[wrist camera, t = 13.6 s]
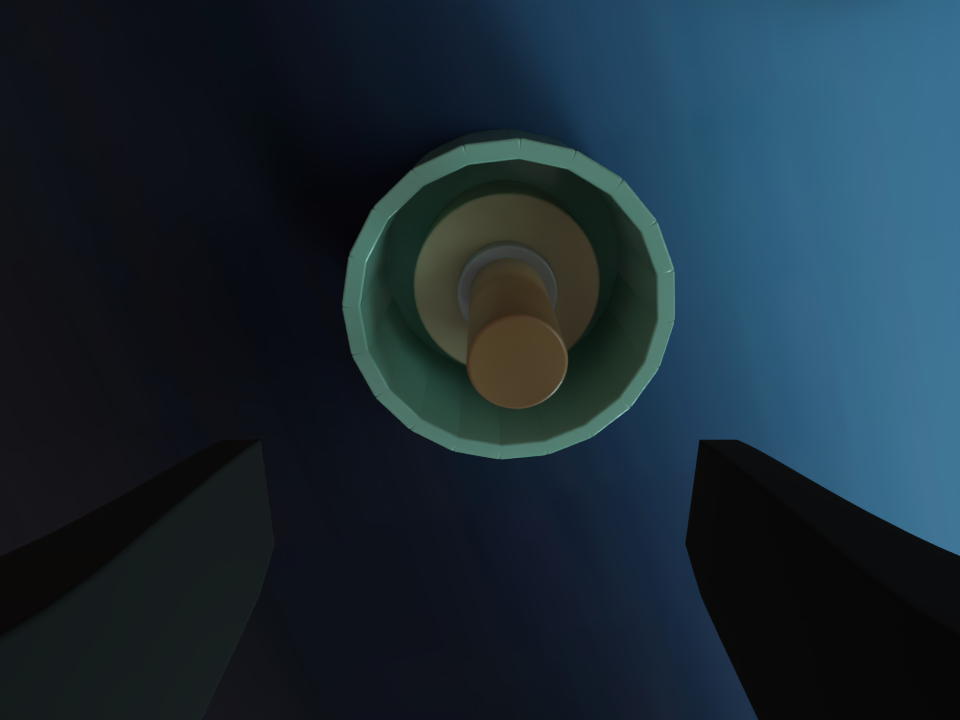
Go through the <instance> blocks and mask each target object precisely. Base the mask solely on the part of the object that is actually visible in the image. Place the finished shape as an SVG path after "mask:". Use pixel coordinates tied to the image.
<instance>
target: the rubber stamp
mask: <svg viewBox="0 0 960 720" xmlns="http://www.w3.org/2000/svg"><path fill="white" fill-rule="evenodd" d="M413 284H414V297H415V302H416V307H417V310H418V313H419V316H420V319H421V321H422V323H423V325H424V327H425V329H426V330H427V332H428V333H429V335H430V336H431V338H432V339H433V340H434V341H435V342H436V344H437V345H438V346H439V347H440V348H441V349H442V350H443V351H445V352H446V353H447V354H448V355H450V356H451V357H452V358H454V359H455V360H457V361H459V362H461V363H463V364H465V365H466V367H467V372H468V376H469V379H470V381H471V383H472V385H473V386H474V388H475V389H476V390H477V392H478V393H479V394H480V395H481V396H483V397H484V398H485V399H486V400H488V401H489V402H491V403H493V404H495V405H498V406H501V407H505V408H511V409H522V408H528V407H532V406H535V405H537V404H540V403H541V402H543V401H545V400H546V399H548V398H549V397H550V396H552V395H553V394H554V393H555V392H556V391H557V389H558V388H559V387H560V385H561V384H562V382H563V380H564V378H565V375H566V372H567V367H568V353H567V351H568V350H569V349H570V348H571V347H573V346H574V345H575V344H576V342H577V341H578V340H579V339H580V338H581V336H582V335H583V334H584V332H585V331H586V329H587V327H588V326H589V324H590V322H591V320H592V318H593V316H594V313H595V310H596V307H597V303H598V298H599V293H600V273H599V266H598V261H597V257H596V254H595V251H594V249H593V246H592V244H591V242H590V240H589V239H588V237H587V235H586V233H585V232H584V231H583V229H582V228H581V227H580V225H579V224H578V223H577V221H576V220H575V219H574V218H573V216H572V215H571V214H570V213H569V211H568V210H567V209H566V208H565V207H564V206H563V205H562V204H561V203H560V202H559V201H558V200H557V199H555V198H554V197H553V196H552V195H550V194H548V193H547V192H545V191H543V190H541V189H539V188H537V187H534V186H532V185H528V184H524V183H520V182H512V181H496V182H490V183H485V184H481V185H478V186H475V187H473V188H470V189H468V190H466V191H464V192H463V193H461V194H459V195H458V196H456V197H455V198H454V199H452V200H451V201H450V202H449V203H448V204H446V206H445V207H444V208H443V209H442V210H441V211H440V212H439V213H438V215H437V216H436V218H435V219H434V221H433V222H432V224H431V226H430V228H429V230H428V232H427V235H426V237H425V240H424V242H423V245H422V247H421V250H420V253H419V256H418V258H417V262H416V267H415V271H414V283H413Z"/></svg>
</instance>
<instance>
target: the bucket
mask: <svg viewBox="0 0 960 720" xmlns="http://www.w3.org/2000/svg"><path fill="white" fill-rule="evenodd" d="M496 181H512V182H520V183H524V184H528V185H532V186H534V187H537V188H539V189H541V190H543V191H545V192H547V193H548V194H550V195H552V196H553V197H554V198H555V199H557V200H558V201H559V202H560V203H561V204H562V205H563V206H564V207H565V208H566V209H567V210H568V211H569V213H570V214H571V215H572V216H573V218H574V219H575V220H576V221H577V223H578V224H579V225H580V227H581V228H582V229H583V231H584V232H585V233H586V235H587V237H588V239H589V240H590V242H591V244H592V246H593V249H594V251H595V254H596V257H597V261H598V266H599V273H600V293H599V298H598V303H597V307H596V310H595V313H594V316H593V318H592V320H591V322H590V324H589V326H588V327H587V329H586V331H585V332H584V334H583V335H582V336H581V338H580V339H579V340H578V341H577V342H576V344H575V345H574V346H573V347H571V348H570V349H569V350H568V351H567V353H568V367H567V372H566V375H565V378H564V380H563V382H562V384H561V385H560V387H559V388H558V389H557V391H556V392H555V393H554V394H553V395H552V396H550V397H549V398H548V399H546V400H545V401H543V402H541V403H540V404H537V405H535V406H532V407H528V408H522V409H511V408H505V407H501V406H498V405H495V404H493V403H491V402H489V401H488V400H486V399H485V398H484V397H483V396H481V395H480V394H479V393H478V392H477V390H476V389H475V388H474V386H473V385H472V383H471V381H470V379H469V376H468V372H467V367H466V365H465V364H463V363H461V362H459V361H457V360H455V359H454V358H452V357H451V356H450V355H448V354H447V353H446V352H445V351H443V350H442V349H441V348H440V347H439V346H438V345H437V344H436V342H435V341H434V340H433V339H432V338H431V336H430V335H429V333H428V332H427V330H426V329H425V327H424V325H423V323H422V321H421V319H420V316H419V313H418V310H417V307H416V302H415V297H414V284H413V283H414V271H415V267H416V262H417V258H418V256H419V253H420V250H421V247H422V245H423V242H424V240H425V237H426V235H427V232H428V230H429V228H430V226H431V224H432V222H433V221H434V219H435V218H436V216H437V215H438V213H439V212H440V211H441V210H442V209H443V208H444V207H445V206H446V204H448V203H449V202H450V201H451V200H452V199H454V198H455V197H456V196H458V195H459V194H461V193H463V192H464V191H466V190H468V189H470V188H473V187H475V186H478V185H481V184H485V183H490V182H496ZM342 305H343V306H342V310H343V315H344V320H345V325H346V330H347V335H348V340H349V346H350V351H351V354H352V357H353V359H354V360H355V362H356V364H357V366H358V367H359V369H360V371H361V373H362V375H363V376H364V378H365V380H366V382H367V383H368V385H369V387H370V389H371V391H372V392H373V394H374V396H376V398H377V399H378V400H379V401H380V402H381V403H382V404H383V405H384V406H385V407H386V408H387V409H389V410H390V411H391V412H392V413H393V414H394V415H395V416H396V417H397V418H398V419H399V420H400V421H401V422H402V423H403V424H405V425H406V426H407V427H408V428H409V429H411V430H412V431H414V432H416V433H418V434H420V435H422V436H424V437H426V438H428V439H430V440H432V441H434V442H436V443H438V444H440V445H442V446H444V447H446V448H448V449H450V450H453V451H456V452H461V453H467V454H472V455H478V456H483V457H489V458H495V459H499V458H500V459H509V458H519V457H529V456H539V455H546V454H551V453H553V452H556V451H558V450H561V449H563V448H566V447H568V446H571V445H573V444H576V443H579V442H581V441H584V440H586V439H589V438H591V436H594V435H596V434H597V433H598V432H600V431H601V430H602V429H603V428H605V427H606V426H607V425H609V424H610V423H611V422H613V421H614V420H615V419H616V418H618V417H619V416H620V415H622V414H623V413H624V412H626V411H627V410H628V409H629V408H630V407H631V406H632V405H633V404H634V402H635V401H636V399H637V398H638V397H639V395H640V394H641V392H642V391H643V390H644V388H645V387H646V386H647V384H648V383H649V381H650V380H651V379H652V377H653V376H654V374H655V373H656V372H657V370H658V367H659V366H660V364H661V361H662V358H663V355H664V352H665V349H666V346H667V343H668V340H669V337H670V334H671V331H672V328H673V324H674V319H675V272H674V267H673V264H672V261H671V258H670V255H669V253H668V250H667V247H666V244H665V241H664V238H663V236H662V233H661V230H660V227H659V224H658V222H657V221H656V219H655V217H654V216H653V215H652V214H651V212H650V211H649V210H648V209H647V207H646V206H645V205H644V204H643V202H642V201H641V200H640V199H639V198H638V196H637V195H636V194H635V193H634V191H633V190H632V189H631V188H630V186H629V185H628V184H627V183H626V182H625V180H623V179H622V178H621V177H620V176H618V175H616V174H615V173H613V172H611V171H610V170H608V169H607V168H605V167H603V166H602V165H600V164H598V163H597V162H595V161H593V160H592V159H590V158H589V157H587V156H585V155H584V154H582V153H580V152H579V151H577V150H575V149H573V148H571V147H570V146H568V145H566V144H564V143H562V142H560V141H558V140H557V139H554V138H552V137H548V136H544V135H540V134H535V133H531V132H527V131H521V130H516V129H501V130H487V131H482V132H476V133H469V134H468V135H467V134H465V135H463V136H461V137H459V138H456V139H454V140H452V141H450V142H448V143H446V144H444V145H442V146H440V147H438V148H436V149H434V150H432V151H430V152H429V153H427V154H426V155H425V156H424V157H423V158H422V159H421V160H420V161H419V162H418V163H417V164H416V165H415V166H414V167H412V168H411V169H410V170H409V171H408V172H407V173H406V174H405V175H404V176H403V177H402V178H401V179H400V180H399V181H398V182H397V183H396V184H395V185H394V186H393V187H392V188H391V189H390V190H389V191H388V192H387V193H386V194H385V195H384V196H383V197H382V198H381V199H380V200H379V201H378V202H377V203H376V204H375V205H374V207H373V208H372V210H371V211H370V213H369V215H368V217H367V219H366V221H365V223H364V225H363V227H362V229H361V231H360V233H359V235H358V237H357V239H356V241H355V243H354V245H353V247H352V249H351V251H350V254H349V257H348V263H347V270H346V278H345V285H344V292H343V300H342Z"/></svg>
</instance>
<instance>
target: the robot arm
mask: <svg viewBox="0 0 960 720" xmlns="http://www.w3.org/2000/svg"><path fill="white" fill-rule="evenodd" d="M274 544H275V543H274V536H273V529H272V521H271V514H270V507H269V499H268V492H267V484H266V477H265V470H264V462H263V455H262V447H261V440H222V441H220V442H217V443H215V444H213V445H211V446H209V447H207V448H205V449H203V450H201V451H199V452H197V453H196V454H194V455H192V456H190V457H188V458H187V459H185V460H183V461H181V462H180V463H178V464H176V465H175V466H173V467H171V468H169V469H168V470H166V471H164V472H162V473H161V474H159V475H157V476H156V477H154V478H152V479H150V480H149V481H147V482H145V483H143V484H142V485H140V486H138V487H136V488H135V489H133V490H131V491H130V492H128V493H126V494H124V495H122V496H121V497H119V498H117V499H115V500H113V501H111V502H109V503H108V504H106V505H104V506H102V507H100V508H98V509H96V510H94V511H92V512H91V513H89V514H87V515H85V516H83V517H81V518H79V519H77V520H76V521H74V522H72V523H70V524H68V525H66V526H64V527H62V528H60V529H58V530H56V531H54V532H52V533H50V534H48V535H46V536H44V537H42V538H40V539H38V540H36V541H33V542H31V543H29V544H27V545H25V546H23V547H21V548H18V549H16V550H14V551H11V552H9V553H7V554H5V555H2V556H0V720H202V718H203V716H204V714H205V712H206V710H207V707H208V705H209V703H210V701H211V699H212V697H213V695H214V692H215V690H216V688H217V686H218V684H219V682H220V680H221V678H222V675H223V673H224V671H225V669H226V667H227V665H228V663H229V661H230V658H231V656H232V654H233V652H234V650H235V648H236V646H237V643H238V641H239V639H240V637H241V635H242V633H243V630H244V628H245V626H246V624H247V622H248V620H249V617H250V615H251V613H252V611H253V609H254V606H255V604H256V602H257V599H258V597H259V594H260V591H261V588H262V585H263V581H264V578H265V575H266V572H267V568H268V565H269V562H270V558H271V555H272V551H273V548H274ZM685 544H686V548H687V551H688V555H689V558H690V562H691V565H692V568H693V572H694V575H695V578H696V581H697V585H698V588H699V591H700V594H701V597H702V599H703V602H704V604H705V606H706V609H707V611H708V613H709V615H710V617H711V620H712V622H713V624H714V626H715V628H716V630H717V633H718V635H719V637H720V639H721V641H722V643H723V646H724V648H725V650H726V652H727V654H728V656H729V658H730V661H731V663H732V665H733V667H734V669H735V671H736V673H737V675H738V678H739V680H740V682H741V684H742V686H743V688H744V690H745V692H746V695H747V697H748V699H749V701H750V703H751V705H752V707H753V710H754V712H755V714H756V716H757V718H758V720H960V556H959V555H956V554H954V553H952V552H949V551H947V550H945V549H942V548H940V547H938V546H936V545H934V544H931V543H929V542H927V541H925V540H923V539H921V538H919V537H916V536H914V535H912V534H910V533H908V532H906V531H904V530H902V529H900V528H898V527H897V526H895V525H893V524H891V523H889V522H887V521H885V520H883V519H881V518H879V517H877V516H875V515H873V514H871V513H869V512H867V511H865V510H864V509H862V508H860V507H858V506H856V505H854V504H852V503H851V502H849V501H847V500H845V499H843V498H842V497H840V496H838V495H836V494H834V493H833V492H831V491H829V490H827V489H826V488H824V487H822V486H820V485H819V484H817V483H815V482H813V481H812V480H810V479H808V478H807V477H805V476H803V475H801V474H800V473H798V472H796V471H794V470H793V469H791V468H789V467H788V466H786V465H784V464H782V463H781V462H779V461H777V460H775V459H774V458H772V457H770V456H768V455H767V454H765V453H763V452H761V451H759V450H757V449H756V448H754V447H752V446H750V445H748V444H746V443H743V442H741V441H739V440H699V447H698V455H697V462H696V470H695V477H694V484H693V492H692V499H691V507H690V514H689V521H688V529H687V536H686V543H685Z"/></svg>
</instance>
